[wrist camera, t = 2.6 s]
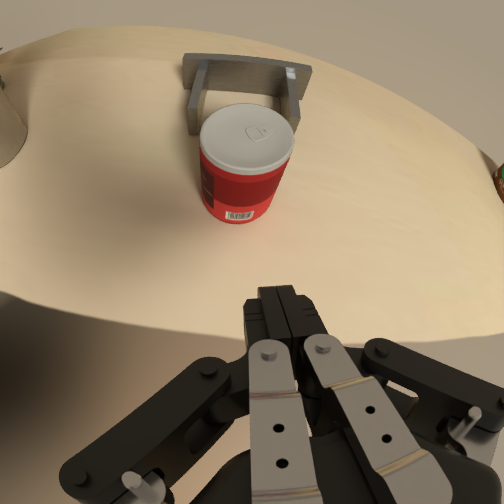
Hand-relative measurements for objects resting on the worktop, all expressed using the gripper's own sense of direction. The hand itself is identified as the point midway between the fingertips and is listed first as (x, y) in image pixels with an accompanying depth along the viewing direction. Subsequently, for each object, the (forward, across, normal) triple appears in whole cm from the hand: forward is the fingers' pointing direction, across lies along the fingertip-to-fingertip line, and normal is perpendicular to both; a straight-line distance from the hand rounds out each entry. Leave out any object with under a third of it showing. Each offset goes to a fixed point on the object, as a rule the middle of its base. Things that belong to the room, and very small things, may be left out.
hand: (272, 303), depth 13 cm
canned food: (+22, 0, 0) cm, 22 cm away
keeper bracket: (+31, -1, -11) cm, 33 cm away
